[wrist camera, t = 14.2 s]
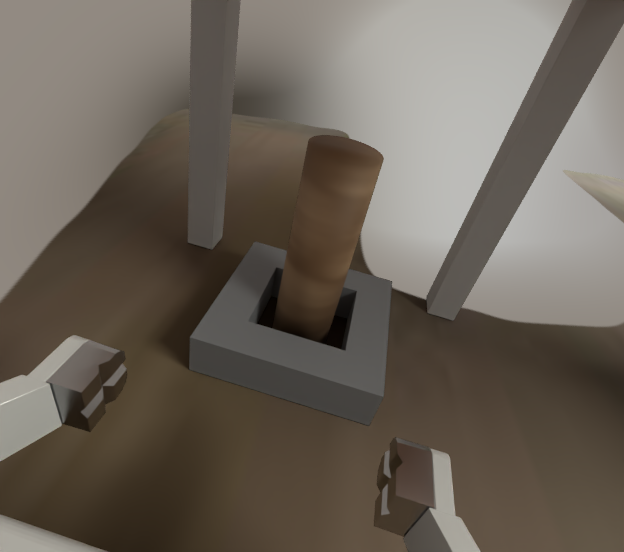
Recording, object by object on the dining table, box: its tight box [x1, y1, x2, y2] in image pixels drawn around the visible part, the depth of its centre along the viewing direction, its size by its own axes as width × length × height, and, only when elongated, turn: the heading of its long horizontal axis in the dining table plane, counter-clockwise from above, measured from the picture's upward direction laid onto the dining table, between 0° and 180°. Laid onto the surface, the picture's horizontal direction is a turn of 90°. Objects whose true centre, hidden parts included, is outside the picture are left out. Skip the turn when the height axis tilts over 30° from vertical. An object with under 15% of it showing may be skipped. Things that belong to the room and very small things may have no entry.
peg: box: [272, 135, 384, 344], centre depth 21 cm, size 4×4×12 cm
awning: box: [188, 0, 624, 426], centre depth 19 cm, size 15×21×22 cm
